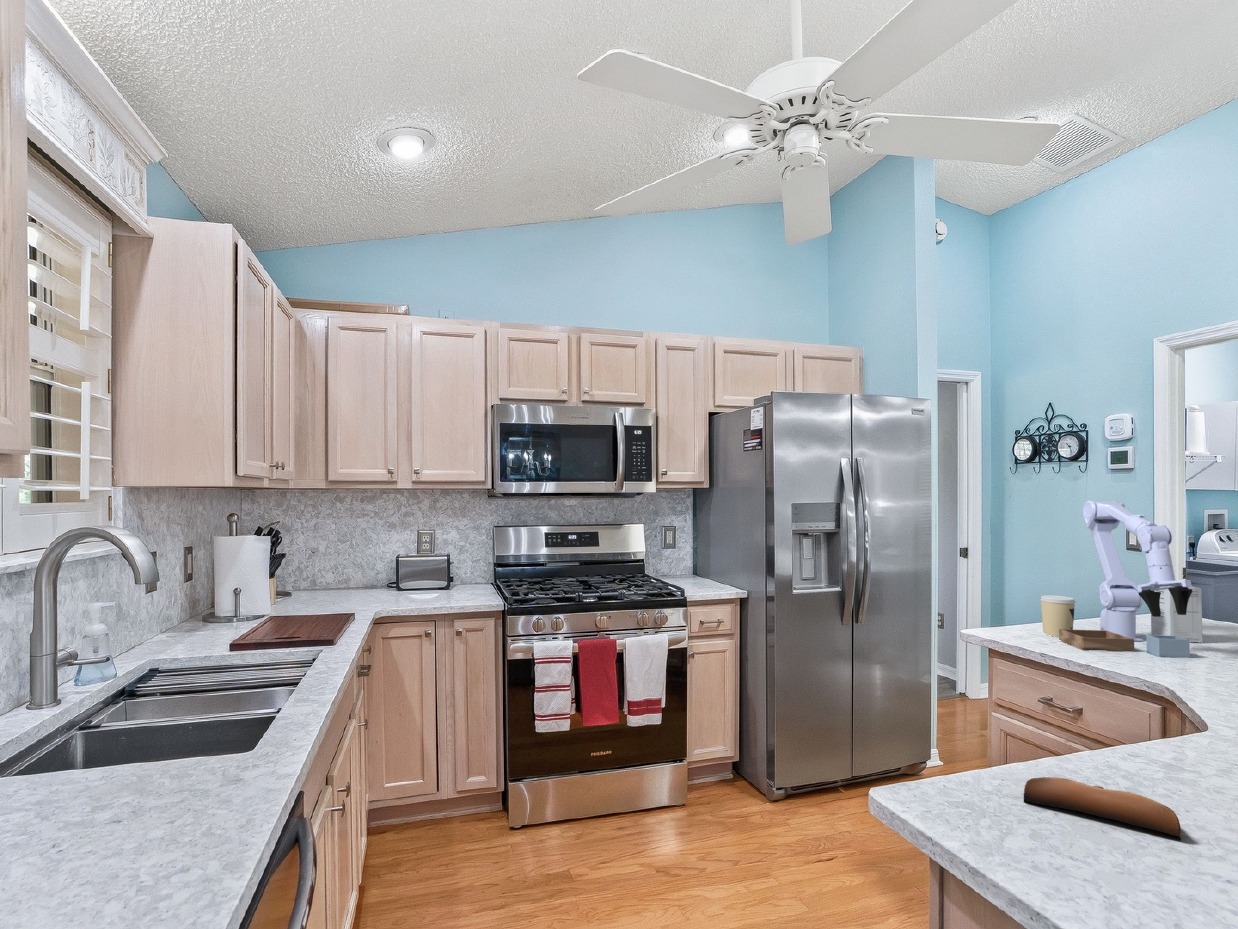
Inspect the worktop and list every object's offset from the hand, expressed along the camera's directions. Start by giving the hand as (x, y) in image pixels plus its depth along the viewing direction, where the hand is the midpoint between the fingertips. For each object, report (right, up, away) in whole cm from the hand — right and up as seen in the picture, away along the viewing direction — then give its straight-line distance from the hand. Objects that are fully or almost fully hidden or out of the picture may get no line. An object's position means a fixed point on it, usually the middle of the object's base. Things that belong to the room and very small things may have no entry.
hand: (1169, 615), depth 192 cm
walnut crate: (-14, -11, +10) cm, 20 cm away
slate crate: (0, -11, 0) cm, 11 cm away
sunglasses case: (-86, -8, -94) cm, 128 cm away
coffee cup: (-16, -12, +24) cm, 31 cm away
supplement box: (+19, -12, +21) cm, 31 cm away
